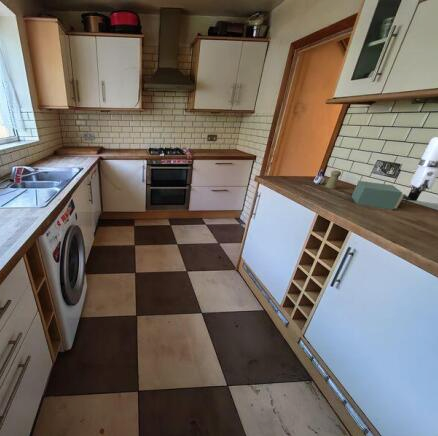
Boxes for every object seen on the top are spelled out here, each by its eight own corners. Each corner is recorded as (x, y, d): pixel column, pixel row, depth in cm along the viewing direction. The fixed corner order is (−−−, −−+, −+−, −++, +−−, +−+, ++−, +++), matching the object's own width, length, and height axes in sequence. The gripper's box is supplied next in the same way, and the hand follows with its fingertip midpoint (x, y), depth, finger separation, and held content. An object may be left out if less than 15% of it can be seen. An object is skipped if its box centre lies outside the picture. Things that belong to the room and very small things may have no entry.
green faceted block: (384, 201, 128) (392, 185, 123) (392, 210, 116) (402, 192, 112) (351, 196, 134) (358, 180, 130) (356, 204, 123) (364, 187, 119)
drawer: (398, 202, 124) (406, 188, 121) (407, 210, 114) (416, 196, 110) (357, 196, 132) (363, 183, 129) (362, 203, 122) (369, 189, 118)
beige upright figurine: (337, 189, 147) (344, 172, 142) (326, 187, 149) (332, 171, 144) (334, 186, 152) (341, 170, 147) (324, 185, 154) (330, 169, 149)
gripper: (450, 167, 101) (428, 206, 109) (434, 162, 113) (415, 197, 121) (426, 165, 105) (406, 202, 112) (413, 160, 116) (396, 194, 124)
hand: (411, 199), depth 117 cm, fingers closed
